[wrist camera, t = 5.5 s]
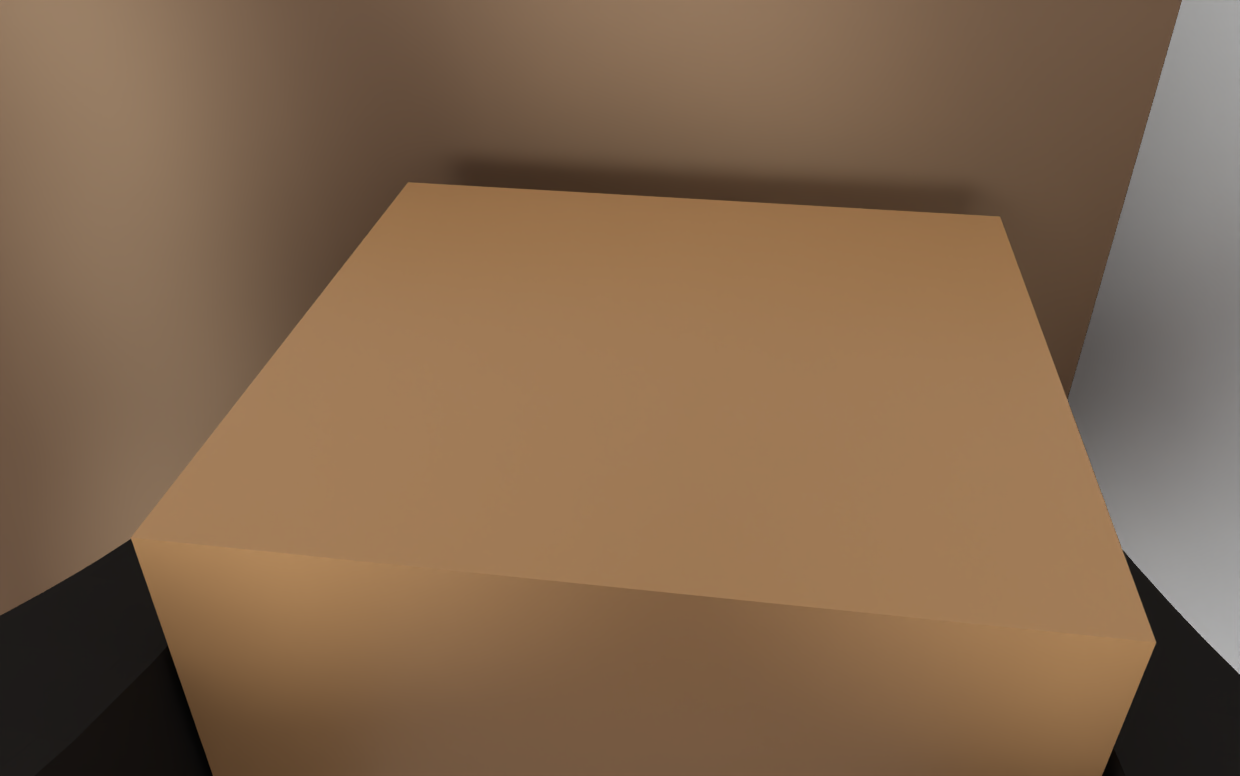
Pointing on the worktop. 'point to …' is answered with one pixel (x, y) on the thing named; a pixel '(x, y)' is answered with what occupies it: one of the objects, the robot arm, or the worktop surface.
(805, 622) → the tan shipping carton
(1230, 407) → the worktop surface
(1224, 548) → the worktop surface
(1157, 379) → the worktop surface
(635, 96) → the board
